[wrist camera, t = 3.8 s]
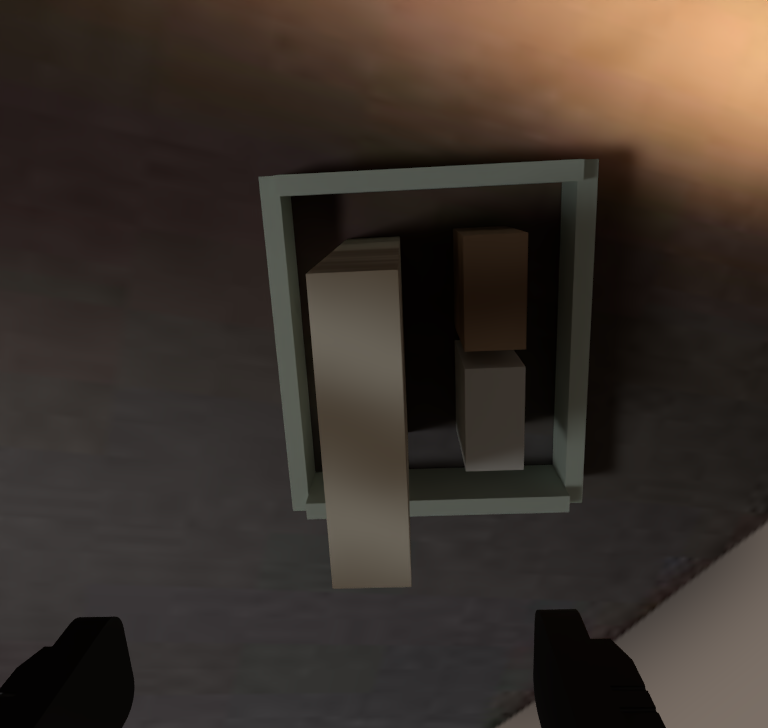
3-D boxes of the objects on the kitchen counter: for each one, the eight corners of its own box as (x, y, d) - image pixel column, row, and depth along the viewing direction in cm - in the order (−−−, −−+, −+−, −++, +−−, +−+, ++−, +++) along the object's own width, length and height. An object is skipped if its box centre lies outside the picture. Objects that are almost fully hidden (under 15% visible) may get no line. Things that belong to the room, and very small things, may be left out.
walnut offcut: (452, 228, 33) (463, 235, 27) (506, 225, 33) (528, 232, 27) (454, 325, 35) (464, 351, 29) (505, 323, 35) (525, 349, 29)
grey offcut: (454, 340, 35) (464, 369, 29) (505, 338, 35) (525, 366, 29) (456, 427, 37) (465, 471, 31) (504, 425, 36) (523, 469, 31)
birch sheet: (347, 239, 34) (305, 273, 19) (399, 236, 33) (397, 269, 19) (359, 433, 37) (332, 588, 22) (407, 432, 37) (411, 586, 22)
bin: (271, 178, 33) (253, 176, 29) (581, 161, 32) (605, 157, 28) (301, 486, 38) (290, 519, 34) (568, 478, 37) (587, 511, 33)
